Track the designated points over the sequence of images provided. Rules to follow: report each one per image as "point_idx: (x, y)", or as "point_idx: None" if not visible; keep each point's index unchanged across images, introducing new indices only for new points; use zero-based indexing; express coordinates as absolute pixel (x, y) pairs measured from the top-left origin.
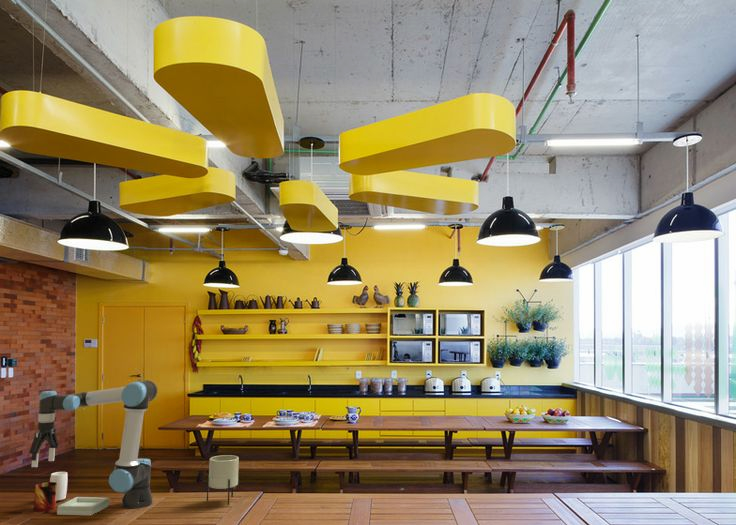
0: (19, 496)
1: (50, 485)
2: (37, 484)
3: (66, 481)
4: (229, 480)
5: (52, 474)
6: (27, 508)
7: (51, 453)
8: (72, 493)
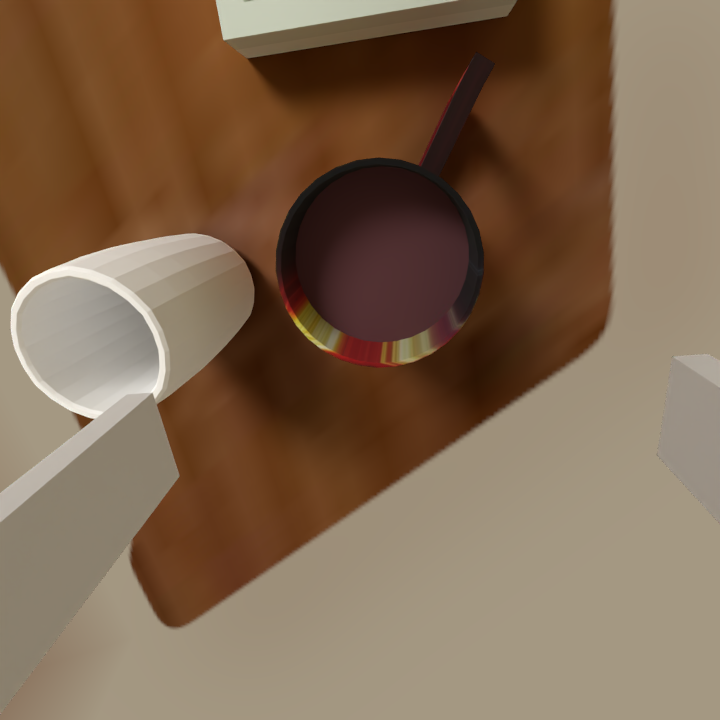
0: (210, 543)
1: (293, 285)
2: (391, 362)
3: (108, 249)
4: None
5: None
6: None
7: (68, 539)
8: None
